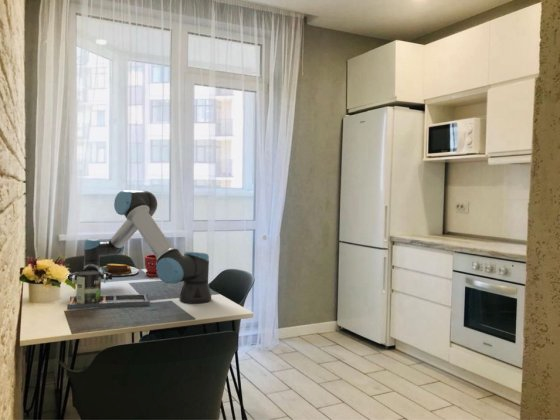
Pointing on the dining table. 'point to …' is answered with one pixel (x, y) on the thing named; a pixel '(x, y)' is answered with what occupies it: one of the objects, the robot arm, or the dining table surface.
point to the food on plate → (118, 269)
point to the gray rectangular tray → (110, 304)
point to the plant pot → (149, 267)
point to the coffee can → (88, 287)
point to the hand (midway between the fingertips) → (88, 280)
